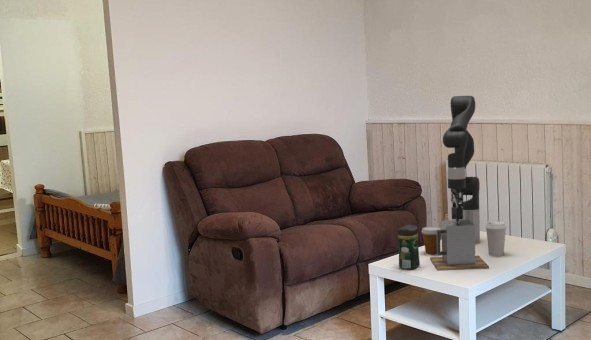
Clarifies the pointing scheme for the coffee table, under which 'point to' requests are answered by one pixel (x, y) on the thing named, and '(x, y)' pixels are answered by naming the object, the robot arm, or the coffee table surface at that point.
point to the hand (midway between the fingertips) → (457, 213)
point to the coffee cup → (496, 237)
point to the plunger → (454, 214)
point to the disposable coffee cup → (430, 239)
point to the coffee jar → (408, 247)
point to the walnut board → (441, 265)
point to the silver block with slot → (457, 242)
